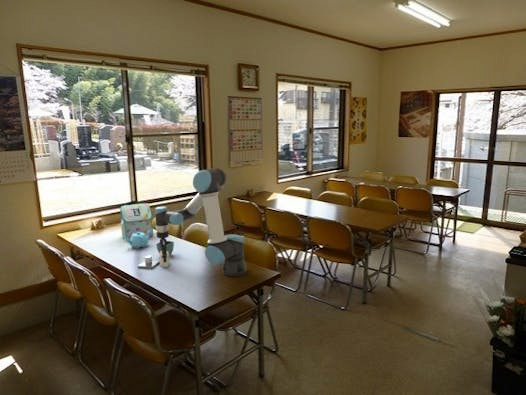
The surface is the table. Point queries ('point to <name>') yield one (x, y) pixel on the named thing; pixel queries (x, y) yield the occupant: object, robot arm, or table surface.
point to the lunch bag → (135, 220)
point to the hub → (148, 263)
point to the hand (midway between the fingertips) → (164, 263)
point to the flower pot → (168, 247)
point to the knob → (162, 259)
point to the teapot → (138, 240)
